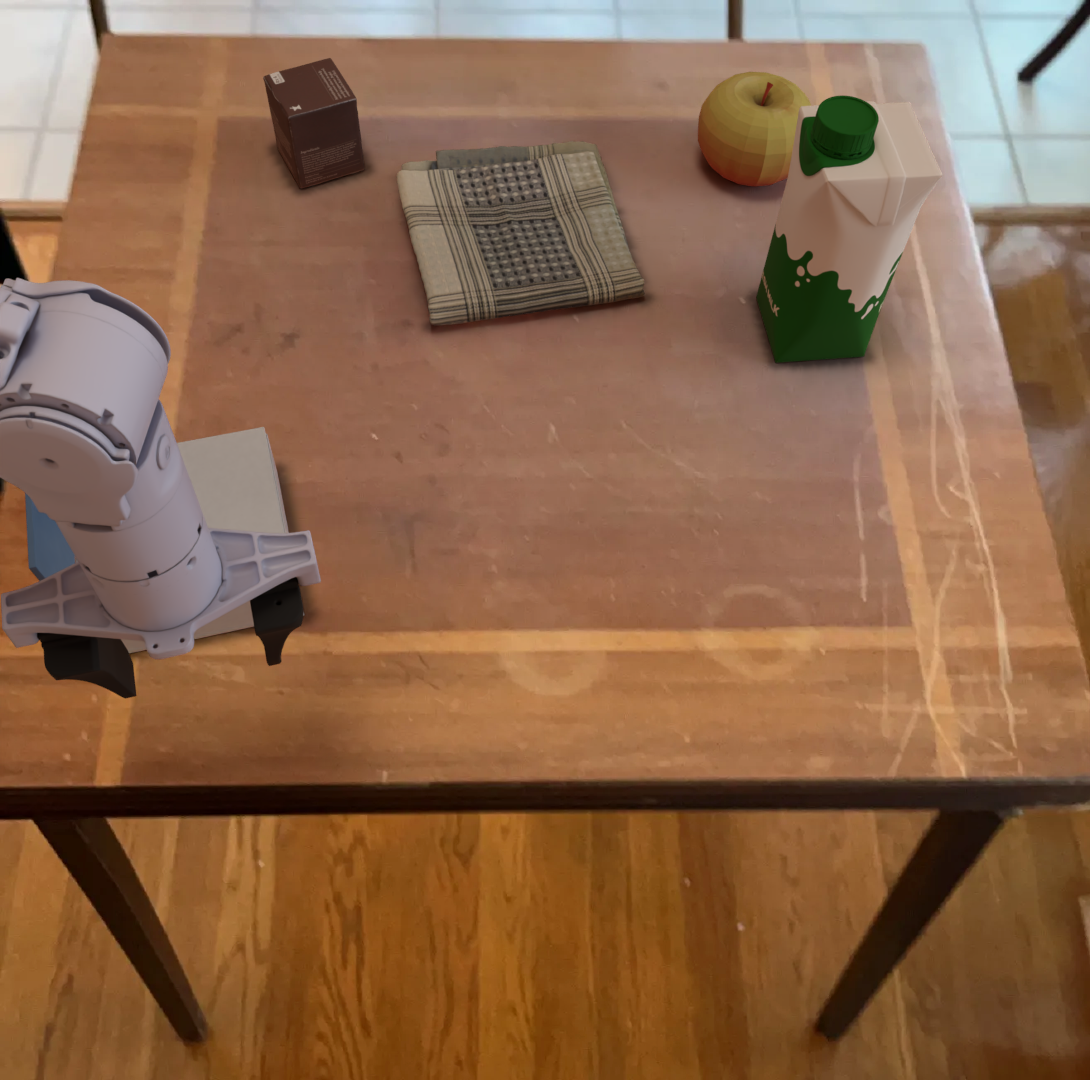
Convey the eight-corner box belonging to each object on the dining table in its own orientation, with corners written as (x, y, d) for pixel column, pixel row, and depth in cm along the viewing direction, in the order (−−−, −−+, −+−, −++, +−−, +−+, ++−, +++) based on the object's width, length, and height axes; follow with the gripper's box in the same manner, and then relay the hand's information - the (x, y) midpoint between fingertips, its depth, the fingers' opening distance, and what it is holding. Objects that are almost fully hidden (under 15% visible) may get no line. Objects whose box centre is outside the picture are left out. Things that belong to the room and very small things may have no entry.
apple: (802, 134, 105) (823, 55, 98) (806, 209, 100) (828, 131, 93) (693, 124, 105) (707, 45, 99) (691, 198, 100) (705, 120, 93)
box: (366, 172, 100) (358, 99, 94) (299, 191, 99) (286, 118, 93) (341, 129, 103) (331, 55, 97) (275, 147, 102) (261, 73, 95)
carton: (100, 659, 75) (76, 619, 70) (88, 508, 81) (64, 462, 76) (304, 616, 77) (293, 574, 73) (277, 472, 83) (265, 425, 79)
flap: (79, 619, 70) (73, 621, 70) (68, 463, 76) (62, 465, 76) (35, 566, 65) (28, 568, 65) (27, 403, 71) (20, 405, 71)
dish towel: (650, 304, 93) (655, 274, 91) (427, 335, 91) (425, 305, 88) (594, 151, 103) (597, 120, 100) (391, 175, 100) (388, 144, 98)
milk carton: (742, 290, 94) (796, 73, 78) (850, 283, 95) (927, 67, 79) (766, 373, 90) (829, 161, 73) (880, 365, 91) (968, 154, 74)
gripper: (-34, 641, 49) (66, 764, 60) (315, 567, 51) (347, 699, 63) (-37, 504, 52) (58, 646, 64) (289, 441, 55) (325, 588, 66)
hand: (201, 664), depth 63 cm, fingers open, 7 cm apart
